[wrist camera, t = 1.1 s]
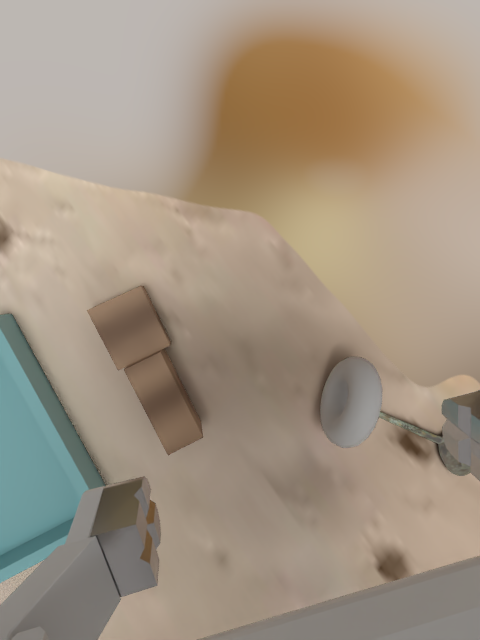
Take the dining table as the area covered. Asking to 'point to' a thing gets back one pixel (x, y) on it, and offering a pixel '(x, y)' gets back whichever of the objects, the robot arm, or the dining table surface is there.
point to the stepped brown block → (148, 365)
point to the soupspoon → (447, 458)
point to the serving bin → (35, 459)
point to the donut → (351, 402)
